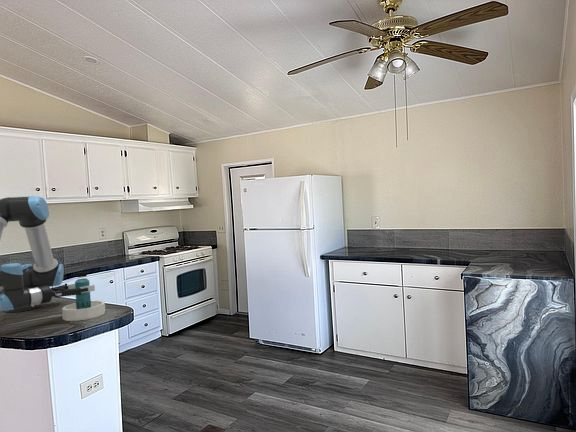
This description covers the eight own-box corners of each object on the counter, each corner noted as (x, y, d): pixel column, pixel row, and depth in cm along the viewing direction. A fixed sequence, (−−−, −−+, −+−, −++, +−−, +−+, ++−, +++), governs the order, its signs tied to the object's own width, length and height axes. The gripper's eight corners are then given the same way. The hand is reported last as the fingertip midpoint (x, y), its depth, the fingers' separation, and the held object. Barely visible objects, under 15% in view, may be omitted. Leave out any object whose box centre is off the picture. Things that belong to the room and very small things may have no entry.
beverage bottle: (77, 312, 200) (74, 271, 200) (92, 310, 203) (89, 270, 202) (75, 316, 194) (72, 273, 194) (91, 314, 197) (88, 272, 196)
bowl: (57, 317, 198) (56, 307, 198) (95, 308, 211) (94, 299, 211) (72, 323, 186) (71, 312, 186) (111, 313, 199) (110, 303, 199)
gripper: (30, 300, 193) (78, 291, 209) (50, 307, 176) (100, 296, 192) (29, 284, 193) (76, 276, 208) (49, 289, 176) (99, 280, 192)
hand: (88, 286), depth 200 cm, fingers open, 13 cm apart
